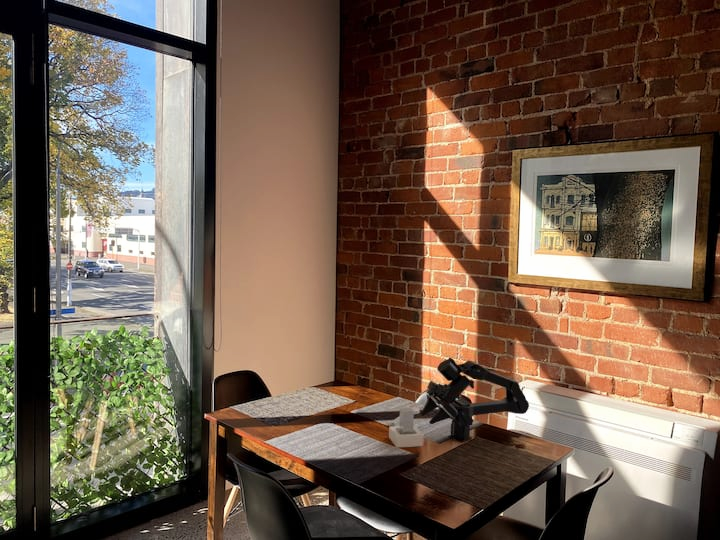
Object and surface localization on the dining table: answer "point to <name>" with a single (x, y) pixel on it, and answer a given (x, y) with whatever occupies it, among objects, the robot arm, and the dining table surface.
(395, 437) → the socket block
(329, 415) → the dining table surface
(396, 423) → the adjustable wrench
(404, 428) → the steel peg
